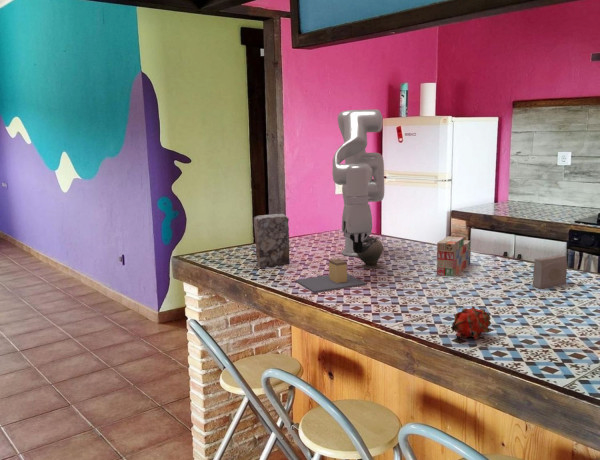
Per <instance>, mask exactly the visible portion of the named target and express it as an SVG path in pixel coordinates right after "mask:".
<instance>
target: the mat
mask: <svg viewBox="0 0 600 460" xmlns="http://www.w3.org/2000/svg"><path fill="white" fill-rule="evenodd" d="M294 281H295V283H297V284H299V285H300V286H302V287H303V288H305V289H307V290H308V291H310V292H311V293H313V294H315V293H323V292H329V291H336V290H343V289H348V288H357V287H363V286H368V283H367V282H365V281H363V280H361V279H359V278H357V277H356V276H353V275H351V274H349V273H347V282H341V283H336V282H334V281H332V280H330V279H329V274H328V275H321V276H313V277H307V278H299V279H295V280H294Z"/></svg>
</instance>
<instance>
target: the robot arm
mask: <svg viewBox="0 0 600 460" xmlns="http://www.w3.org/2000/svg"><path fill="white" fill-rule="evenodd" d="M383 121H384V120H383V114H382V113H381V111H380V110H379V109H349V110H343V111H340V112H339V113H338V115H337V125H338V129H339V131H340V133H341V136H342V138H343V141H344V142H343V143H342V144H341V145H340V146H339V147H338V148H337V149H336V151H335V153H334V154H333V158H332V172H331V173H332V180H333V181H334V184H336V185H340V186H341V192H342V193H341V194H342V199H343V209H342V216H341V217H342V218H341V231H342V232H343V235H342V236H343V237H344V249H342V250H341V255H343V256H347V257H359V256H358V254H357V253H362V250H363V241H364V239H366V237H367V236H369V237H370V236H371V235H372V234H373V232H372V231H373V218H372V217H373V216H372V209H371V205H370V203H375V202H376V203H377V202H382V201H383V200H384V197H385V163H384V157H383V156H382V154H381V153H379V152H366V148H367V147H368V133H379V132H382V130H383V129H382V128H383V125H384V124H383V123H384V122H383ZM343 161H344V163H342V162H343Z"/></svg>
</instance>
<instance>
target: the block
mask: <svg viewBox="0 0 600 460" xmlns="http://www.w3.org/2000/svg"><path fill="white" fill-rule="evenodd" d="M347 274H348V261H346V260H343V259H340V258H333V259H328V275H329V279H330V280H332V281H334V282H336V283H341V282H347Z"/></svg>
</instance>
